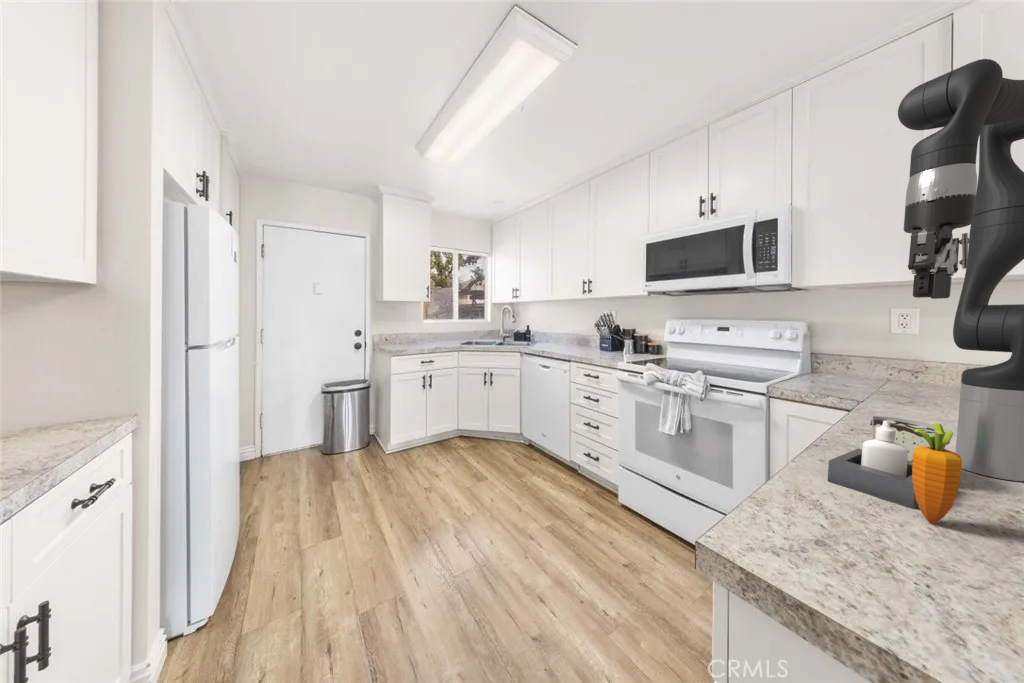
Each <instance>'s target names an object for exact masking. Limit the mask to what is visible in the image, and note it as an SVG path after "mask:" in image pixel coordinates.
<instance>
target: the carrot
mask: <svg viewBox="0 0 1024 683" xmlns="http://www.w3.org/2000/svg"><path fill="white" fill-rule="evenodd" d="M932 425H933V427H934V430H935V436H934V435H928V434H927V433H925V432H924V431H922V430H919V429H916V430H915V432H916V433H917V434H919V435H921V436H922V437H923V438H924V439H925V440H926V441H927V442H928V444H929V445H930V446H920V447H917V448H915V450H914V453H913V462H912V481H913V487H914V492H915V497H916V501H917V503H918V506H917V507H919V510H920V512H921V513H922V516H923V517H924V518H925V520H926V521H927V522H929V524H932V525H933V524H936V523H937V524H938V523H939V522H940V521H942V519H944V517H945V516H946V515H947V514H948V513H949V511H950V510H951V508H952V506H953V504H954V502H955V500H956V497H957V494H958V491H959V485H960V481H961V475H962V474H961V473H962V468H961V467H962V459H961V457H960V456H959V455H958V454H957V453H955V451H952V450H948V449H947V448H946V449H945V447H947V444H948V442H949V441H950V442H951V439H952V437H953V435H954V431H952V430H950V429H946V433H945V434H944V430H943V429H944V426H943V424H941V423H940V422H939V423H938V422H934V423H932ZM948 445H949V444H948Z"/></svg>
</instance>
